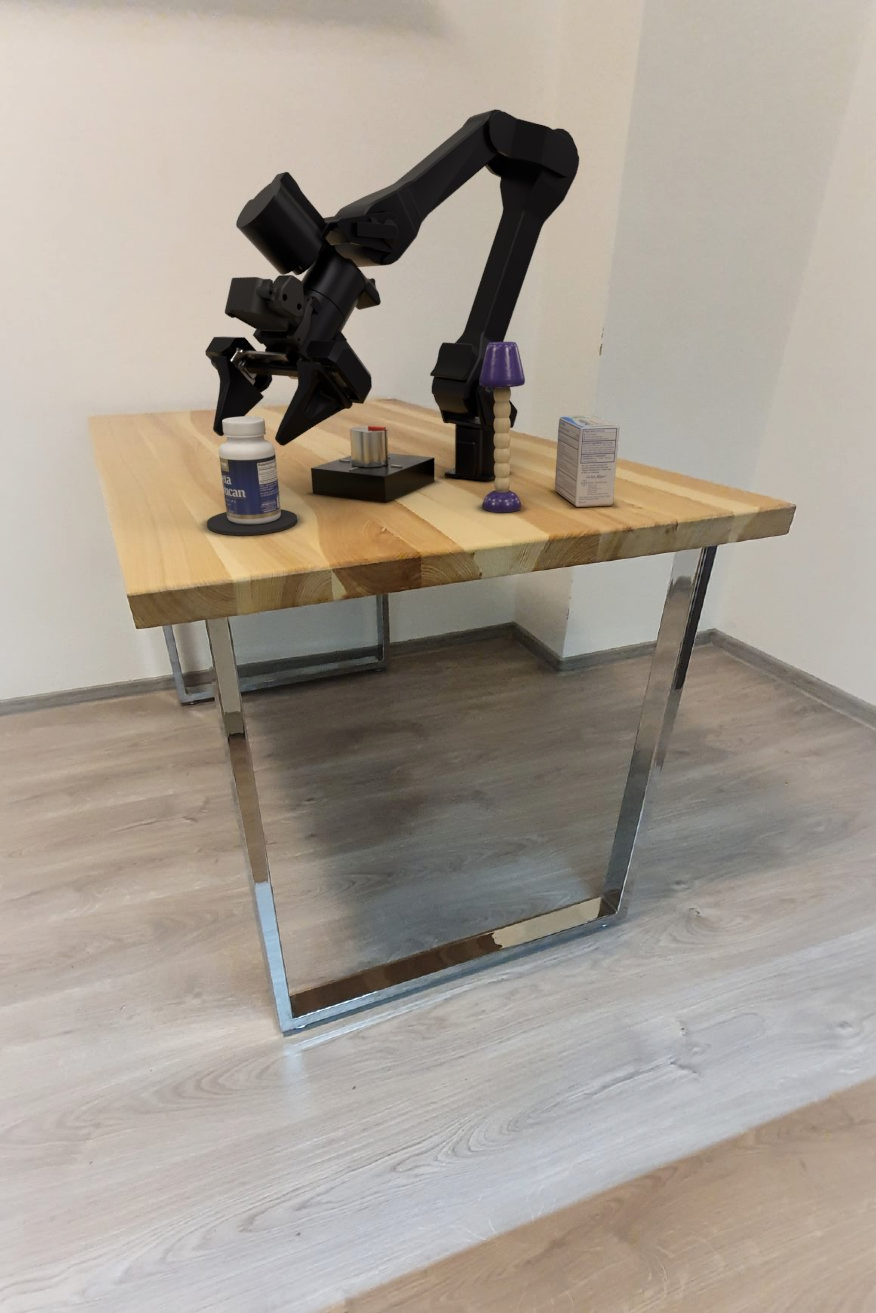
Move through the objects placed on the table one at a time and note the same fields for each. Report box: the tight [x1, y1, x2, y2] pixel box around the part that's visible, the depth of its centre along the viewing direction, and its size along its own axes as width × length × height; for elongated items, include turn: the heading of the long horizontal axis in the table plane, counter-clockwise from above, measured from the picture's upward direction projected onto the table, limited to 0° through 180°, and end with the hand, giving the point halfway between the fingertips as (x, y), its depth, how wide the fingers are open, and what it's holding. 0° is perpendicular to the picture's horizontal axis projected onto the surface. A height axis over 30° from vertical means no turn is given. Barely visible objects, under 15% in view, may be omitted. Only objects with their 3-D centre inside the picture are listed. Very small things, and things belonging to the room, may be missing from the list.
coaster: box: [206, 508, 298, 537], centre depth 74 cm, size 9×9×1 cm
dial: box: [349, 425, 389, 467], centre depth 85 cm, size 4×4×4 cm
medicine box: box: [554, 414, 620, 508], centre depth 81 cm, size 8×4×9 cm, turn 9°
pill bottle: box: [218, 415, 282, 525], centre depth 72 cm, size 5×5×10 cm
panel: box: [310, 452, 436, 504], centre depth 87 cm, size 12×10×3 cm
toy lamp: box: [479, 341, 526, 513], centre depth 76 cm, size 5×5×17 cm
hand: (246, 438), depth 71 cm, fingers open, 9 cm apart
